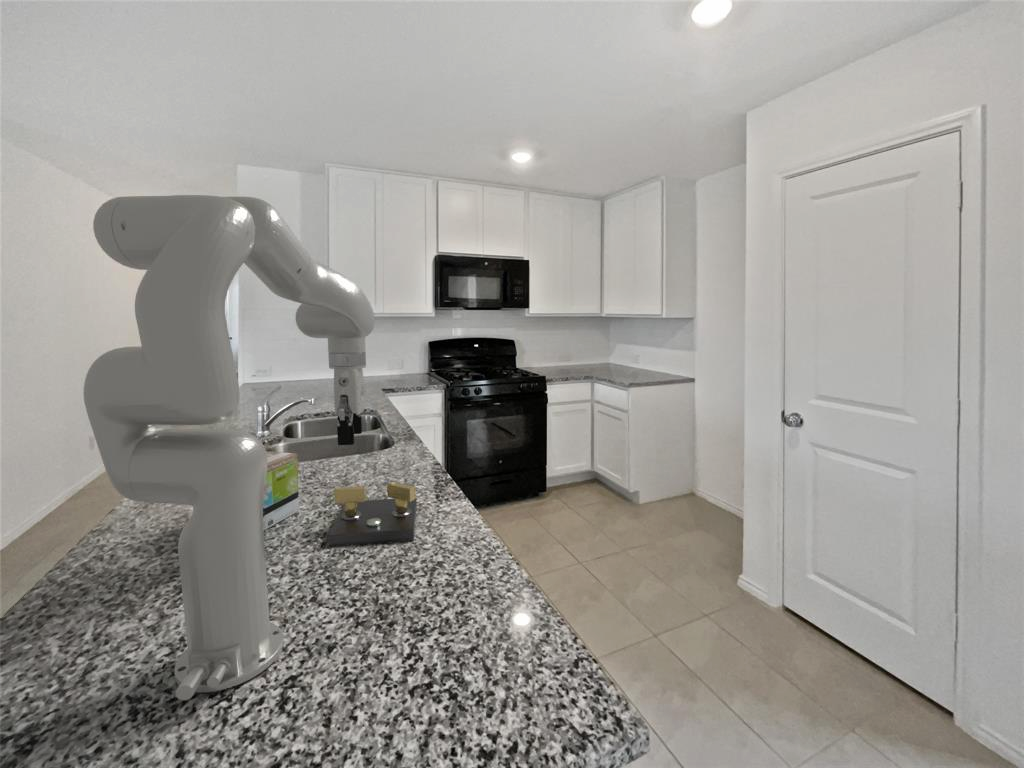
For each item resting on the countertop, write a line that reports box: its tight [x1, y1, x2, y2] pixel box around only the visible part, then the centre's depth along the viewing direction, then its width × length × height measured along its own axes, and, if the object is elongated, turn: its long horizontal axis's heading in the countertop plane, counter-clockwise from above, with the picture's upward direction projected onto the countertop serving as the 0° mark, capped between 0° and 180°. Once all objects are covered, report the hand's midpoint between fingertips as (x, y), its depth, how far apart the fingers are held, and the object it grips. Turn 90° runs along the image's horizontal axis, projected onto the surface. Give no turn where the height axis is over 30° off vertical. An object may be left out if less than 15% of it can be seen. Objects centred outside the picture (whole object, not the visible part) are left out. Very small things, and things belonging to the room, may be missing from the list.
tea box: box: [263, 450, 300, 531], centre depth 105 cm, size 15×10×15 cm
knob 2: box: [386, 481, 416, 513], centre depth 104 cm, size 3×6×6 cm, turn 64°
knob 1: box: [333, 485, 367, 516], centre depth 102 cm, size 3×6×6 cm, turn 100°
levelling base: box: [327, 496, 418, 547], centre depth 104 cm, size 18×17×3 cm
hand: (350, 438), depth 101 cm, fingers open, 9 cm apart
